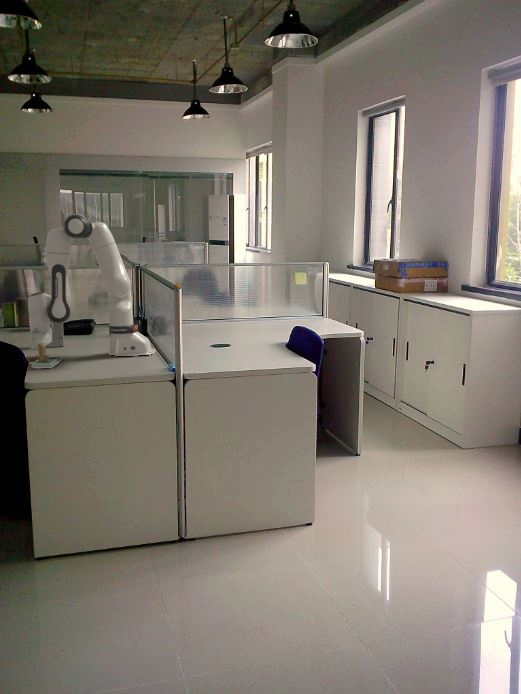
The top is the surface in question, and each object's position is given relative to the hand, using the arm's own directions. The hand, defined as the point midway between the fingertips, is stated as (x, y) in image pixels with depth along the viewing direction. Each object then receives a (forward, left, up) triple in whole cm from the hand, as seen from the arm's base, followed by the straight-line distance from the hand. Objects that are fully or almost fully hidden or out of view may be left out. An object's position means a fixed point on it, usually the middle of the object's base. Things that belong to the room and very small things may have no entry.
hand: (42, 355), depth 318 cm
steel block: (-1, +4, -2) cm, 4 cm away
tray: (-7, +16, -2) cm, 18 cm away
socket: (-8, +8, -2) cm, 11 cm away
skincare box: (+4, -32, -2) cm, 32 cm away
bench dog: (0, +9, -2) cm, 9 cm away
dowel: (-6, +16, -1) cm, 18 cm away
